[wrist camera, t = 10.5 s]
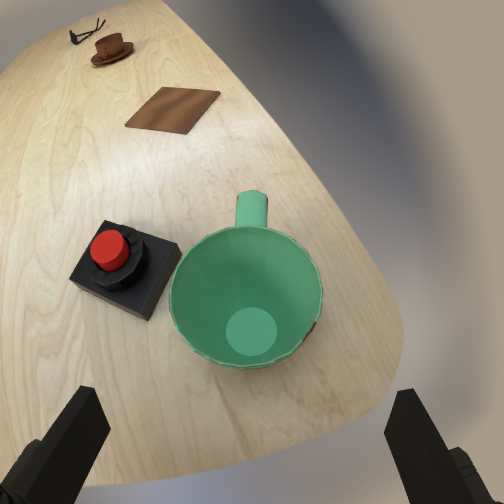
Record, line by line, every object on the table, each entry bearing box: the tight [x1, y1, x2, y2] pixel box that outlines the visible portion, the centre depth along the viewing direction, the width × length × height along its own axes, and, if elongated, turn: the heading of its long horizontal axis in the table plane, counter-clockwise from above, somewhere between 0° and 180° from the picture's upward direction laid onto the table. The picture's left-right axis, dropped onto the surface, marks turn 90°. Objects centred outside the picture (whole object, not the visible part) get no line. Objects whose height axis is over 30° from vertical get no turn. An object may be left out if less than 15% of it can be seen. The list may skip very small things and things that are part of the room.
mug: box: [169, 190, 323, 370], centre depth 25 cm, size 15×10×10 cm
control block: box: [69, 220, 182, 321], centre depth 30 cm, size 10×8×4 cm
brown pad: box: [125, 87, 220, 134], centre depth 46 cm, size 12×12×1 cm
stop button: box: [91, 230, 130, 271], centre depth 28 cm, size 4×4×2 cm
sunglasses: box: [70, 18, 106, 44], centre depth 80 cm, size 17×14×5 cm
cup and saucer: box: [91, 33, 133, 64], centre depth 60 cm, size 12×12×6 cm
